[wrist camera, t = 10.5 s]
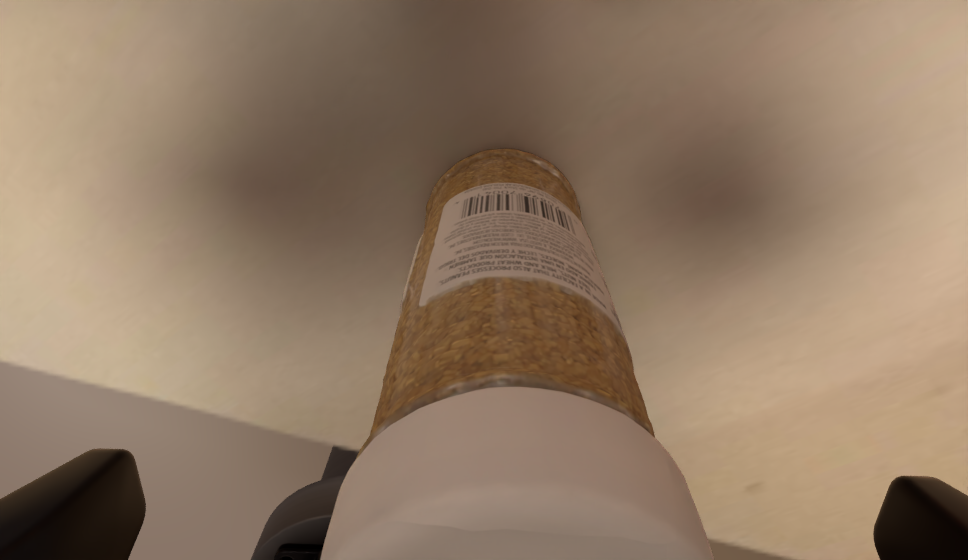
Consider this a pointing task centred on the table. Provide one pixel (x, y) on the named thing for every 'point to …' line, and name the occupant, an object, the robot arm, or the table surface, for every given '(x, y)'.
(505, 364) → the sprinkles bottle
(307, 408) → the table surface
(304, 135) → the table surface
